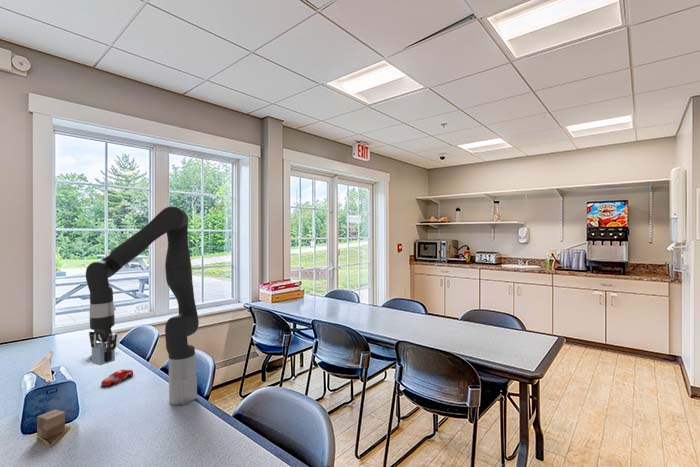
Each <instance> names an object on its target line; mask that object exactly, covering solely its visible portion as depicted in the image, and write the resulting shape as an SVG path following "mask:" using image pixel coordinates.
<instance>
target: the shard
mask: <svg viewBox="0 0 700 467" xmlns="http://www.w3.org/2000/svg"><path fill="white" fill-rule="evenodd" d="M71 427H72V426H71V425H66V424H65V431H63V432H61V433H59V434H57V435H54V436H52V437H50V438H48V439H45V438H43V437H40V436H37V435H36V437H37V439H40V440H42V441H43V442H44V444H46V445H47V446H49V447H52V446H54V444H55V443H56V442H57V441H58V440H59V439H60V438H61V437H62V436H63V435H64V434H65V433H66V432H68V431H69V430H70V429H71Z"/></svg>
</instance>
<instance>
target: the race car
mask: <svg viewBox="0 0 700 467" xmlns="http://www.w3.org/2000/svg"><path fill="white" fill-rule="evenodd" d="M133 376H134V371H133V370H132V369H127V368H126V369H120V370H117V371H114V372H112V373H111V374H109V376H107V377H106V378H104V379H103V380H101V384H100V385H101V387H112V386H115V385H116V384H118V383H121V382H123V381H126V380H128V379H131V377H133Z"/></svg>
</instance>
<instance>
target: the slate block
mask: <svg viewBox="0 0 700 467" xmlns="http://www.w3.org/2000/svg"><path fill="white" fill-rule="evenodd" d="M112 346H113V344H112ZM106 347H107V345H106ZM115 350H116V349H113V350H112V360H111V361H108V362H105V361H104V348H103V346H101V345H98V346H95V347H91V358H92V359H91V360H92V364H94V365H97V366H103V365H105V364H108V363H111V362H114V361H115V360H116V356H115V352H116V351H115Z"/></svg>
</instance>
